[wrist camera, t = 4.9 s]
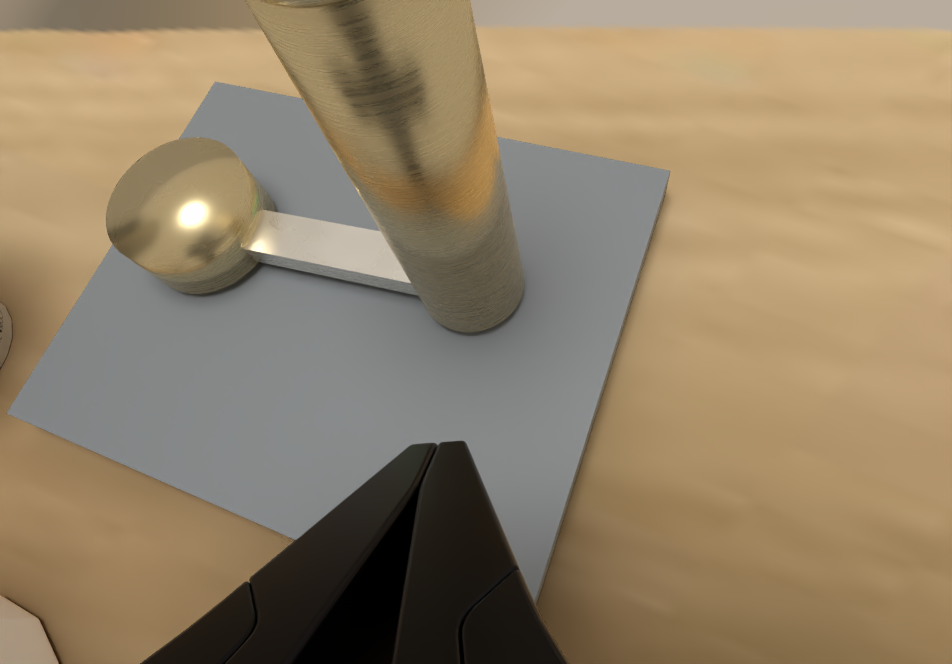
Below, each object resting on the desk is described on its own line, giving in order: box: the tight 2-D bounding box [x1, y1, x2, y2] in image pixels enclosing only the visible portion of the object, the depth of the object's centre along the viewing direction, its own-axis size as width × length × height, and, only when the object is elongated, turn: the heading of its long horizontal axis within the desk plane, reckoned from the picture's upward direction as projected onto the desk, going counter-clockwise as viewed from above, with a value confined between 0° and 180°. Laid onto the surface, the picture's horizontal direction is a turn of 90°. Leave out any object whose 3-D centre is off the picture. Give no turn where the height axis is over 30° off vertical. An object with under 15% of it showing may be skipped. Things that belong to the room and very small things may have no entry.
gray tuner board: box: [7, 82, 670, 605], centre depth 19 cm, size 17×14×1 cm
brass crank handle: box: [106, 0, 524, 332], centre depth 12 cm, size 13×4×13 cm, turn 73°
